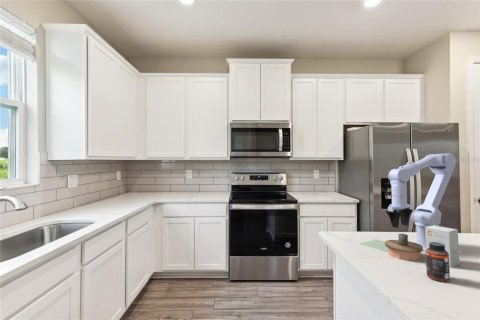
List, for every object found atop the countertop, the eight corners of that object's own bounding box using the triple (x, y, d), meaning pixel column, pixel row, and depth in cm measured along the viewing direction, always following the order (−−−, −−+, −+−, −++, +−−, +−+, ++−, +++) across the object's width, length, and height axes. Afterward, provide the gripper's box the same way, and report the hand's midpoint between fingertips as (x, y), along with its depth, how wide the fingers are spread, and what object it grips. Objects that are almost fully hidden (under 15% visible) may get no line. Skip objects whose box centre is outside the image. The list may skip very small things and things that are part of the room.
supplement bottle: (454, 283, 77) (453, 246, 78) (432, 281, 79) (431, 246, 79) (442, 274, 83) (441, 241, 83) (422, 273, 84) (422, 240, 85)
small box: (459, 264, 92) (458, 229, 92) (450, 267, 89) (449, 231, 89) (434, 257, 99) (433, 224, 99) (425, 260, 96) (424, 226, 96)
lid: (395, 242, 109) (395, 229, 109) (429, 250, 98) (429, 236, 98) (378, 247, 103) (377, 233, 103) (412, 257, 92) (412, 241, 92)
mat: (375, 240, 122) (375, 239, 122) (403, 247, 111) (403, 246, 111) (359, 244, 116) (359, 243, 116) (387, 252, 105) (386, 251, 105)
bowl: (397, 250, 108) (397, 241, 108) (425, 258, 98) (425, 248, 98) (383, 255, 102) (382, 245, 102) (411, 264, 93) (411, 253, 93)
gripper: (398, 193, 118) (399, 222, 117) (380, 195, 110) (381, 226, 110) (415, 195, 111) (415, 225, 111) (397, 197, 104) (398, 229, 104)
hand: (399, 226), depth 110 cm, fingers open, 7 cm apart
